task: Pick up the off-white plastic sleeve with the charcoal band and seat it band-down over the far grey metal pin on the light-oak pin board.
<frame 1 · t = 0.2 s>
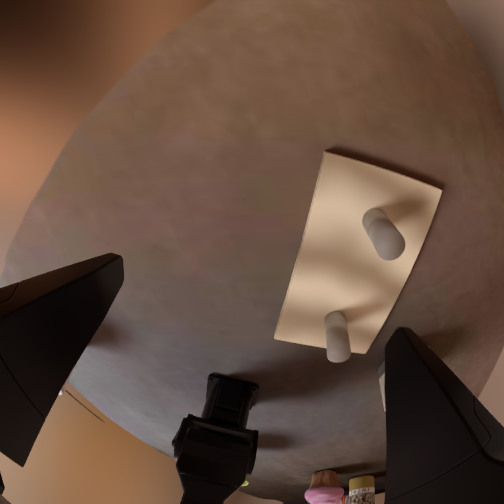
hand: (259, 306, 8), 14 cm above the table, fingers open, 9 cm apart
smoothie: (77, 336, 36), on the table
sleeve: (403, 358, 27), on the table
pin board: (352, 268, 23), on the table
soda can: (349, 494, 62), on the table
cupcake: (325, 471, 48), on the table
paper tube: (361, 476, 50), on the table
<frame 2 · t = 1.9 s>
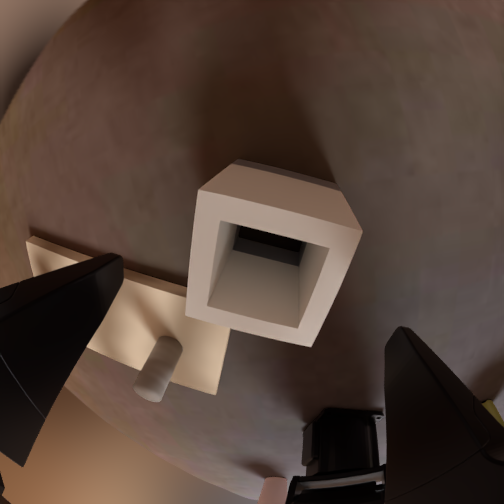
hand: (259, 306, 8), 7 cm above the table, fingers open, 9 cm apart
smoothie: (276, 478, 35), on the table
sleeve: (276, 216, 14), on the table
pin board: (118, 316, 20), on the table
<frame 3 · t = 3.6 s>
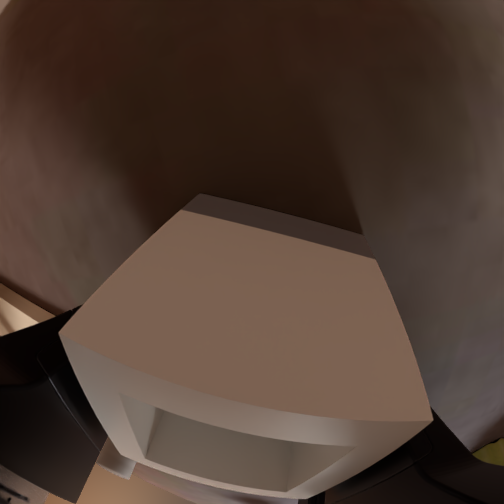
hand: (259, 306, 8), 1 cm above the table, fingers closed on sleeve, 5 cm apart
sleeve: (264, 283, 9), on the table, touching gripper
pin board: (80, 371, 15), on the table
plant pot: (483, 449, 16), on the table
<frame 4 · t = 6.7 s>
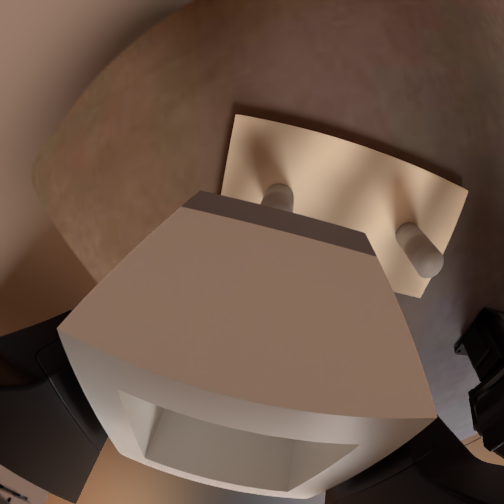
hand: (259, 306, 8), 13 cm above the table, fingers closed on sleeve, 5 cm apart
sleeve: (264, 281, 9), point 12 cm above the table, touching gripper
pin board: (346, 211, 19), on the table
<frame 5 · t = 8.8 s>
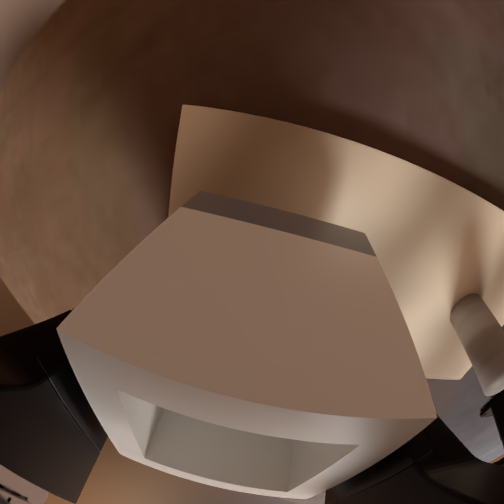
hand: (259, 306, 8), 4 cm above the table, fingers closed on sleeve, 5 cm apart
sleeve: (264, 281, 9), point 2 cm above the table, touching gripper
pin board: (380, 277, 11), on the table
when the fingers open (3 cm above the table, at t = 10.2 s): sleeve stays where it is, resting on pin board.
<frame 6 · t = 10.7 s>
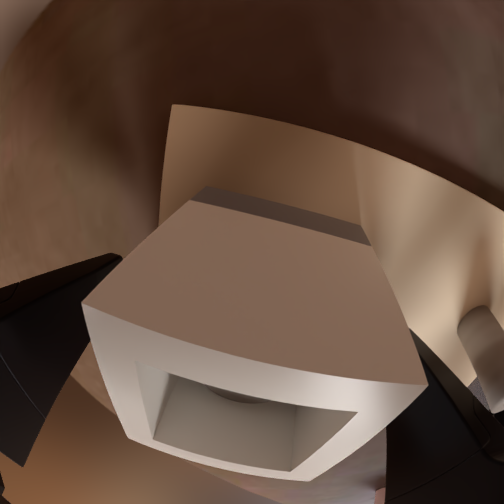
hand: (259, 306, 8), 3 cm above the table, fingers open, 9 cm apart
smoothie: (387, 487, 26), on the table
sleeve: (266, 272, 10), point 1 cm above the table, touching pin board
pin board: (386, 290, 10), on the table
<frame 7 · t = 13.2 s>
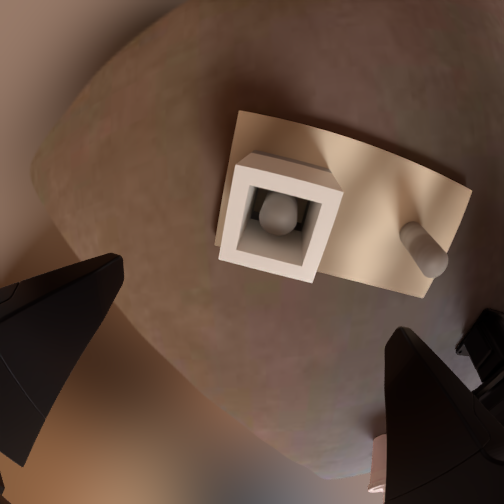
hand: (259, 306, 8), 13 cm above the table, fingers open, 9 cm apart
smoothie: (383, 437, 34), on the table
sleeve: (283, 194, 18), point 1 cm above the table, touching pin board
pin board: (349, 210, 19), on the table
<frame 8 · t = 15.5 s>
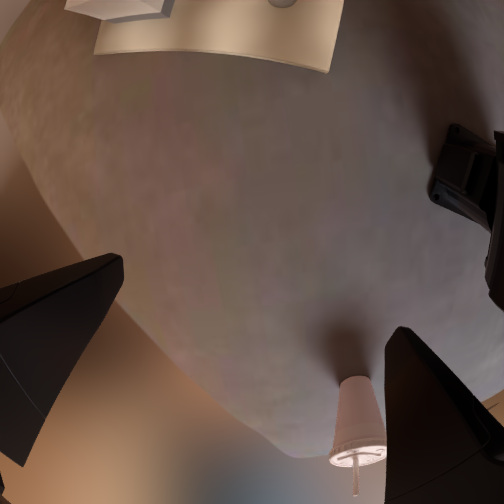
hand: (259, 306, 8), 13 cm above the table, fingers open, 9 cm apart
smoothie: (355, 383, 28), on the table
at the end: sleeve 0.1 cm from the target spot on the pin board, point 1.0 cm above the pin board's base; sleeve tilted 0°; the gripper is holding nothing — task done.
